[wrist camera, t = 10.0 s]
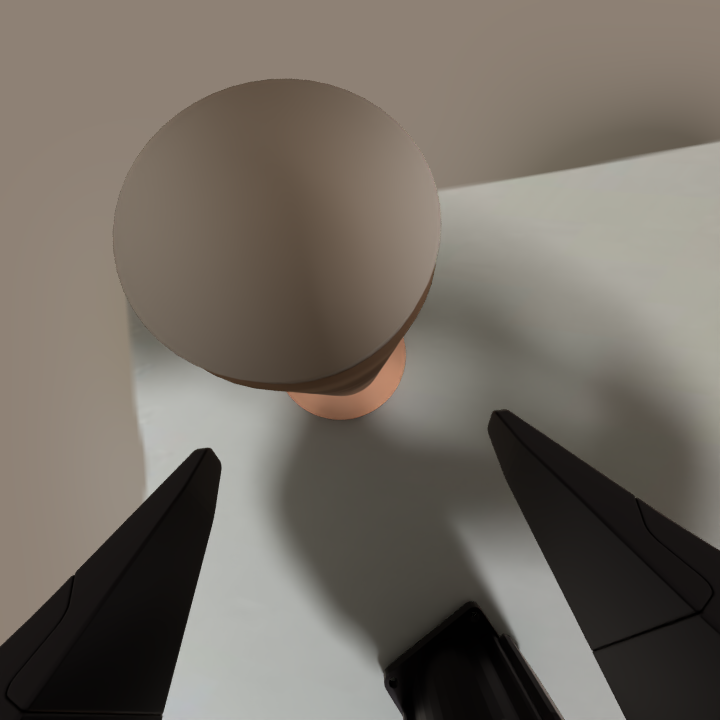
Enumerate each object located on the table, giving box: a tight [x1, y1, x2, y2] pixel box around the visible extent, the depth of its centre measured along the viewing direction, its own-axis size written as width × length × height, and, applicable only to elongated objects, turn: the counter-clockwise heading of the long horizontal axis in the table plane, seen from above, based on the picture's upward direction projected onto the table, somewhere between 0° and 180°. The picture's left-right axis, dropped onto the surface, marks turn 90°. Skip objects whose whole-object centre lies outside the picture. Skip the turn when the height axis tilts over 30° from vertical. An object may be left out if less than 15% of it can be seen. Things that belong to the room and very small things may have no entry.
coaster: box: [287, 338, 406, 420], centre depth 17 cm, size 8×8×1 cm
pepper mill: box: [113, 79, 441, 396], centre depth 10 cm, size 5×5×13 cm
